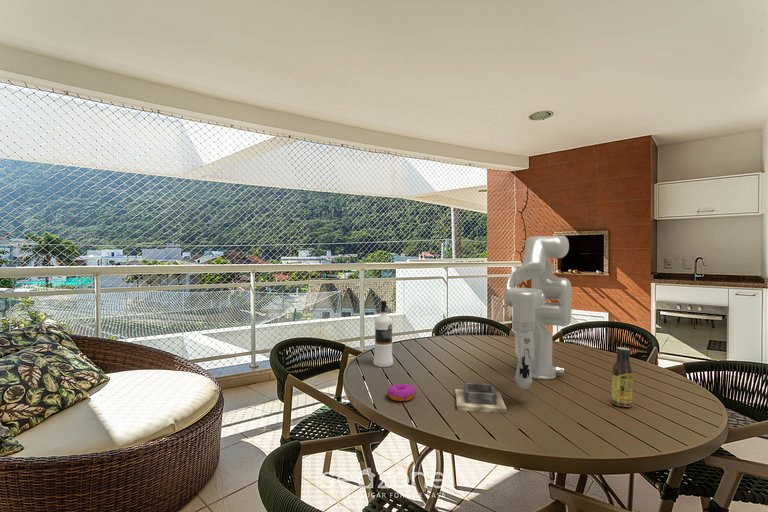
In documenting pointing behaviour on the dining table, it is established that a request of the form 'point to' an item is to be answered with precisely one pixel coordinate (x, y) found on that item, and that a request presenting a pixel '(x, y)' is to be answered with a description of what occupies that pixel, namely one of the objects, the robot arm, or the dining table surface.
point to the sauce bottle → (622, 379)
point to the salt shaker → (519, 379)
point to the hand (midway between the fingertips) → (523, 377)
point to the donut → (401, 392)
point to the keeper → (479, 398)
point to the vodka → (383, 338)
